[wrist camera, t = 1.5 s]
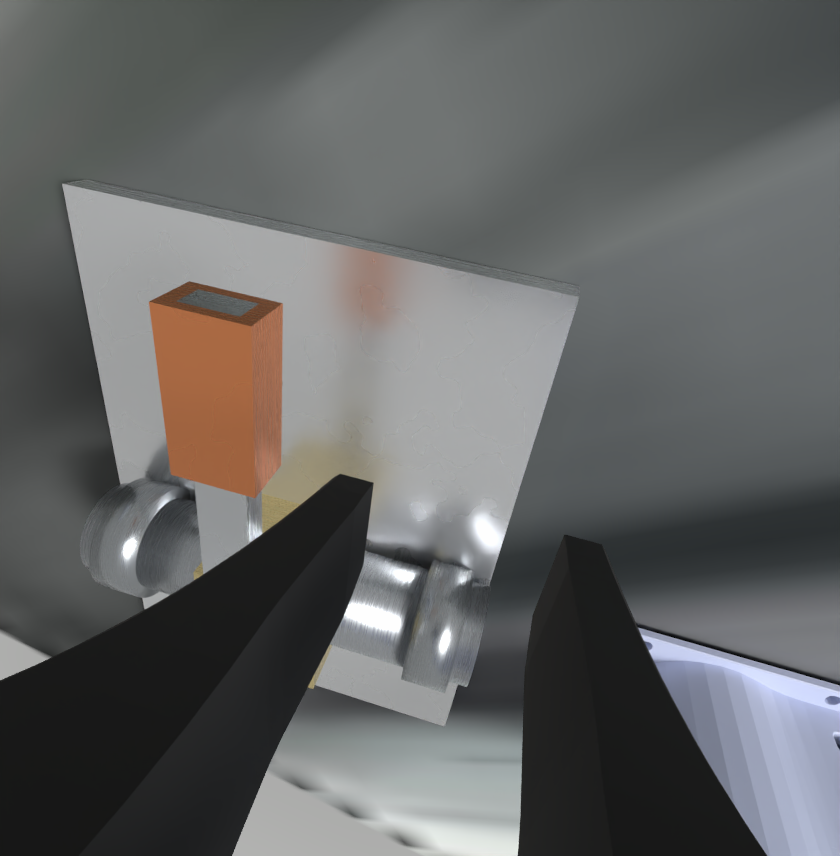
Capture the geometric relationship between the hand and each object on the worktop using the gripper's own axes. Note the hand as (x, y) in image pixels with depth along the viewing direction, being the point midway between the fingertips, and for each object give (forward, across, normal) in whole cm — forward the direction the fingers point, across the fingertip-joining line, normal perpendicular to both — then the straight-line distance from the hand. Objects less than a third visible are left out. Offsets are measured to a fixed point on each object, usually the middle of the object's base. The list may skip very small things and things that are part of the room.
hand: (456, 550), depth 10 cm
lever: (+4, +6, +5) cm, 8 cm away
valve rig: (+9, +7, +9) cm, 14 cm away
